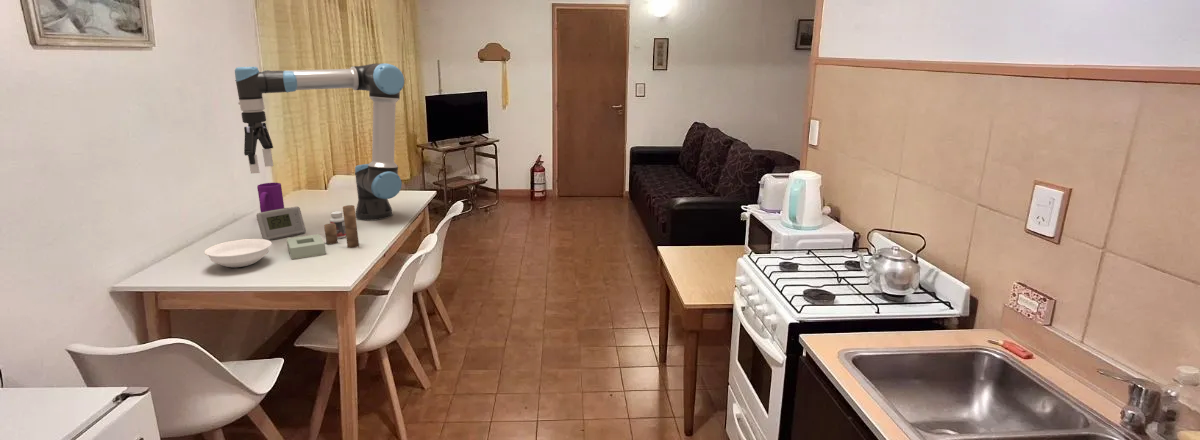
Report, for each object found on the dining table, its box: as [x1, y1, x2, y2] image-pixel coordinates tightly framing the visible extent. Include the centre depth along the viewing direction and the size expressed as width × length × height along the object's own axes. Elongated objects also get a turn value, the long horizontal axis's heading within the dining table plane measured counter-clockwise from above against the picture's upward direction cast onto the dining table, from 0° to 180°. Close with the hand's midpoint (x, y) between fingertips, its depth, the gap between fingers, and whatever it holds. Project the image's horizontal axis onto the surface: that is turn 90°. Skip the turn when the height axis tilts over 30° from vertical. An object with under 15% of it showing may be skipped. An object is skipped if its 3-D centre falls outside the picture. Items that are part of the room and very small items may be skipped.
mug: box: [257, 182, 285, 213], centre depth 270 cm, size 9×16×15 cm, turn 8°
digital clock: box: [256, 206, 307, 241], centre depth 247 cm, size 16×9×11 cm, turn 123°
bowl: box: [203, 238, 272, 268], centre depth 214 cm, size 20×20×6 cm
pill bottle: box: [329, 210, 346, 239], centre depth 245 cm, size 5×5×10 cm
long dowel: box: [342, 204, 360, 249], centre depth 232 cm, size 4×4×15 cm
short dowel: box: [323, 222, 339, 245], centre depth 238 cm, size 4×4×7 cm
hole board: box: [286, 233, 327, 260], centre depth 228 cm, size 11×14×4 cm
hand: (262, 169), depth 233 cm, fingers open, 13 cm apart
